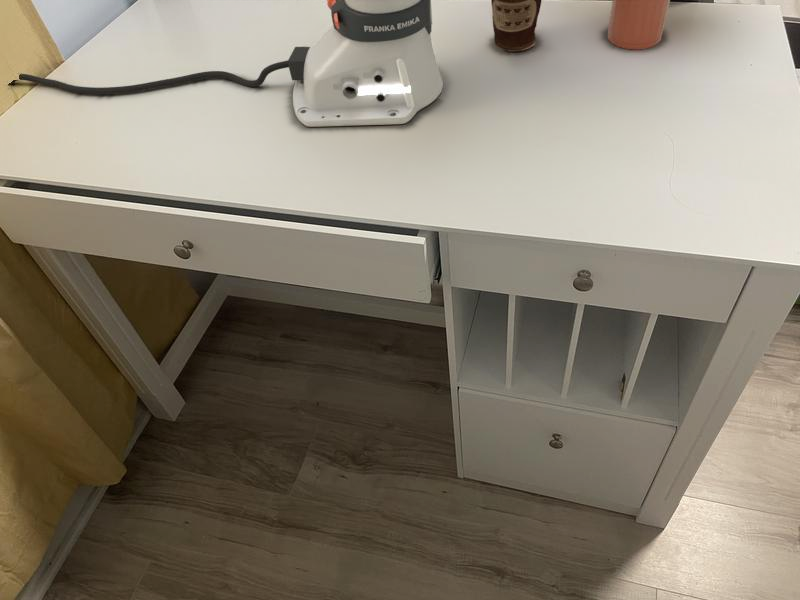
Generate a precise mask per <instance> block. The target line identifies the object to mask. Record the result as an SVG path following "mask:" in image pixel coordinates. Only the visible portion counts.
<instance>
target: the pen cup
mask: <svg viewBox="0 0 800 600" xmlns="http://www.w3.org/2000/svg"><path fill="white" fill-rule="evenodd" d="M611 1H612V2H611V9H610V15H609V22H608V28H607V39H608V41H609V42H610V43H611V44H613V45H615V46H616V47H618V48H622V49H625V50H626V49H627V50H645V49H650V48H652V47H655V46H657V45H658V44H659V43H660V42H661V40H662V36H663V34H664V29H665V25H666V19H667V15H668V10H669V6H670V2H671V0H611Z"/></svg>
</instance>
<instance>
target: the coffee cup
mask: <svg viewBox="0 0 800 600" xmlns="http://www.w3.org/2000/svg"><path fill="white" fill-rule="evenodd" d="M490 1H491V13H492V27H493V34H494V35H493V36H494V38H493V39H494V45H495V46H496V47H497V48H498V49H499V50H502V51H507V52H520V51H525V50H528V49H530V48H532V47H534V46H535V45H536V40H537V38H536V28H537V26H538V25H537V24H538V17H539V14H540V10H541V6H542V0H490Z"/></svg>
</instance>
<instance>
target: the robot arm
mask: <svg viewBox="0 0 800 600" xmlns="http://www.w3.org/2000/svg"><path fill="white" fill-rule="evenodd" d="M326 4H327V5H326V6H327V7H328V9H329V10H330V13H331V15H330V16H331V20H332V25H331V26H330V27H329V29H328V30H327V31H325V32H324V33H323V35H321V36H320V37H319V38H318V39H317V40H316V41H315V42H313V44H312V45H311V46H294V48H293V51H292V52H291V54H290V55H289V58H288V59H287V60H283V61H279V62H275V63H272V64H269V65H267V66H266V67H264V68H263V69H262V71H260V74H259V75H258V77H257V78H256V79H254V80H249V79H246V78H243V77H241V76H238V75H237V74H234V73H232V72H228V71H223V70H208V71H202V72H195V73H191V74H187V75H186V74H185V75H182V76H177V77H171V78H166V79H165V78H164V79H160V80H154V81H150V82H145V83H138V84H131V85H123V86H110V87H109V86H107V87H105V86H103V87H92V86H91V87H90V86H78V85H72V84H68V83H66V82H63V81H59V80H56V79H52V78H44V77H40V76H35V75H32V74H28V73H19V74H20V75H19V79H20V80H13V81H12V82H11V83H9V84H8V85H7V86H9V87H10V86H13V85H15V84H16V83H17V82H18V81H26V82H31V83H35V84H39V85H44V86H50V87H55V88H58V89H61V90H65V91H68V92H72V93H77V94H87V95H88V94H89V95H114V94H115V95H116V94H127V93H128V94H129V93H134V92H135V93H136V92H141V91H146V90H153V89H157V88H164V87H169V86H174V85H179V84H184V83H185V84H186V83H189V82H194V81H199V80H205V79H215V78H216V79H217V78H218V79H226V80H229V81H232V82H234V83H237V84H239V85H241V86H245V87H247V88H248V87H249V88H257V87H260V86H261V85H263V83H264V82H265V80H266V78H267V77H268V75H269V74H271V73H273V72H276V71H278V70H282V69H286V68H288V69H289V75H290V78H291V81H296V82H295V83H294V87H293V90H292V104H293V105H292V106H293V110H294V114H295V117H296V118H297V119H298V121H299V122H300V123H301V124H302V125H304V126H305V127H312V128H313V127H317V128H318V127H343V126H344V127H345V126H347V127H348V126H349V127H350V126H378V125H379V126H380V125H404V124H406V123H408V122H410V120H412V119H413V118H414V116H415V115H416V114H417V113H418V112H419V111H421V110H422V109H424V108H426V107H427V106H429V105H430V104H432V103H433V102H434V101H435V100H436V99H437V98H438V97H439V96H440V94H441V93H442V91H443V88H444V81H443V77H442V75H441V73H440V69H439V67H438V62H437V60H436V55H435V51H434V47H433V46H434V45H433V41H432V35H431V34H432V25H433V10H432V8H433V7H432V0H326Z"/></svg>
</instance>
